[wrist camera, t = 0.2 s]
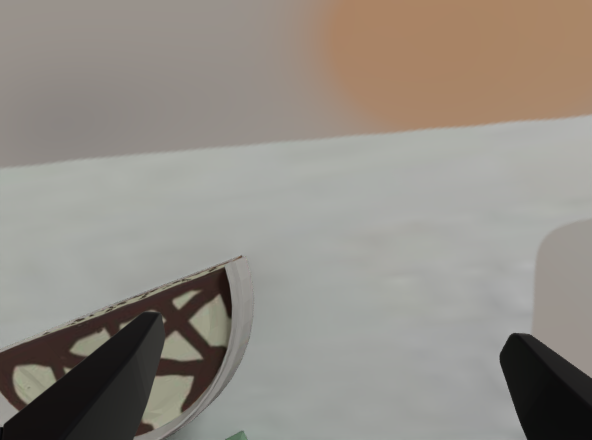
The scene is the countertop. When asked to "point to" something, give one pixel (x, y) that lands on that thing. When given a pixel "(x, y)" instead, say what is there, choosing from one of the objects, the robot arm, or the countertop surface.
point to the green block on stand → (238, 436)
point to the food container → (175, 355)
